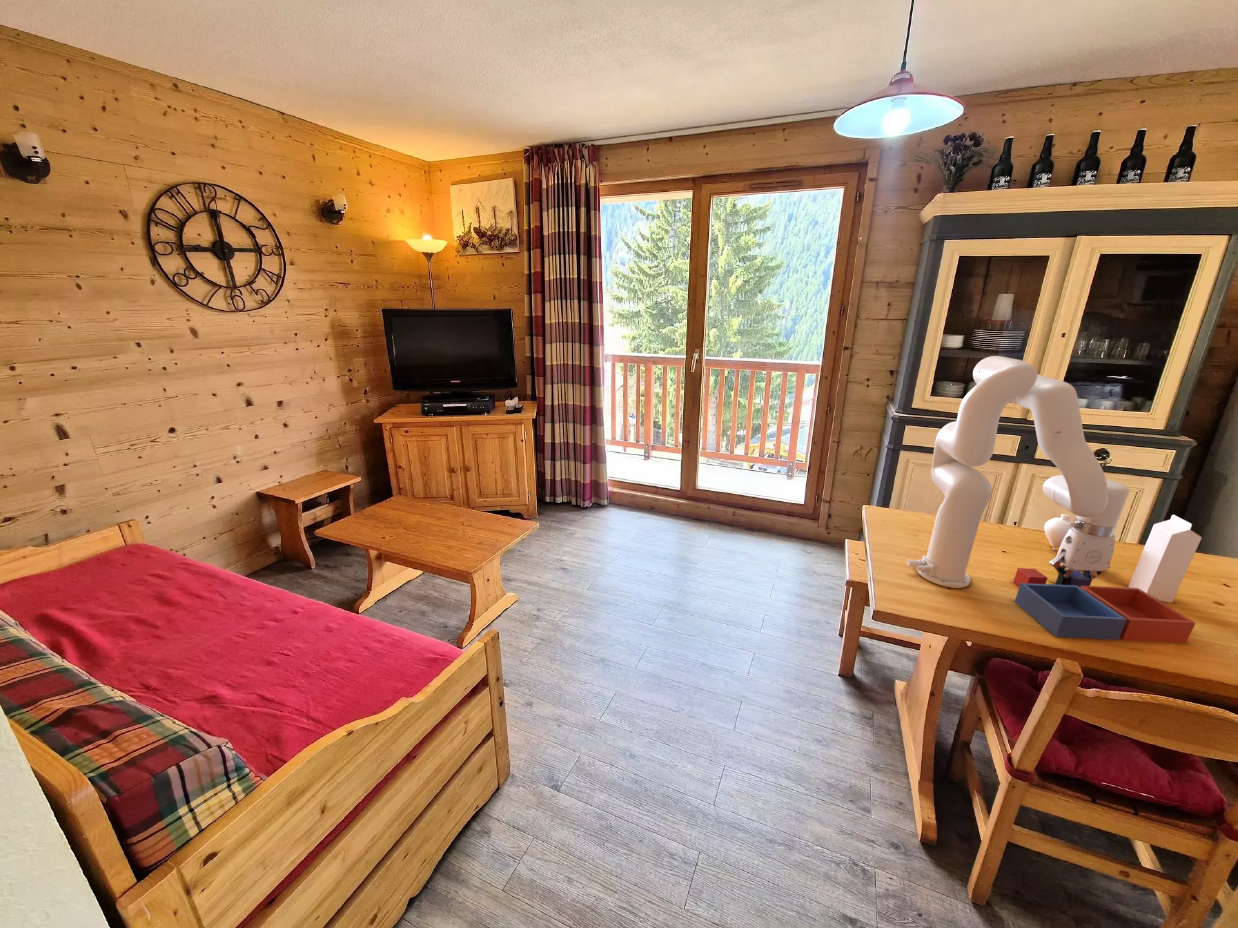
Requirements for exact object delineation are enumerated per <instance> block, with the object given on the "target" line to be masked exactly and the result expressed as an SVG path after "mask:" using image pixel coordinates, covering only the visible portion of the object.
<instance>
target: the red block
mask: <svg viewBox="0 0 1238 928" xmlns="http://www.w3.org/2000/svg"><path fill="white" fill-rule="evenodd" d="M1047 582H1048V577H1047V576H1046V575H1044V574H1043V573H1042V572H1040V571H1039V570H1038V569H1036V568H1026V567H1025V568H1024V567H1018V568H1017V569H1016V573H1015V576H1014V579H1013V583H1014V584H1015V585H1016V586H1017V587H1019V586H1020V583H1029V584H1047Z"/></svg>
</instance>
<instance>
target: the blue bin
mask: <svg viewBox="0 0 1238 928" xmlns="http://www.w3.org/2000/svg"><path fill="white" fill-rule="evenodd" d="M1014 603H1015V604H1016V605H1018V606H1019V607H1020V608H1021V609H1022V610H1024V612H1026V613H1027V614H1028V615H1029V616H1030V617H1032V618H1033V619H1034V620H1035V621H1036V622H1037V623H1039V624H1040V625H1041V626H1043V627H1044V629H1046V630H1047V631H1048V632H1050V633H1051V634H1052V635H1053V636H1054V637H1055V638H1071V639H1092V640H1113V641H1114V640H1115V641H1118V640H1119V639H1120V638H1119V637H1120V635H1121V632H1122V630H1123V627H1124V625H1125V623H1126V620H1127V619H1125V618H1124V617H1122V616H1121V615H1119V614H1118V613H1116V612H1115V611H1114V610H1112V609H1111V608H1109V607H1108V606H1106V605H1105V604H1103V603H1102V602H1100V601H1099V600H1097V599H1096V598H1095V597H1093V596H1092V595H1090V594H1089V593H1087V592H1086V591H1084V590H1083V589H1081V588H1080V587H1078V586H1076V585H1055V584H1049V583H1048V584H1047V583H1046V584H1029V583H1020V586H1018V590H1017V593H1016V596H1015V599H1014Z"/></svg>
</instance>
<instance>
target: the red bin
mask: <svg viewBox="0 0 1238 928" xmlns="http://www.w3.org/2000/svg"><path fill="white" fill-rule="evenodd" d="M1080 588H1081V589H1083V590H1084V591H1086V592H1087V593H1089V594H1090V595H1092V596H1093V597H1095V598H1096V599H1097V600H1099V601H1100V602H1102V603H1103V604H1105V605H1106V606H1108V607H1109V608H1111V609H1112V610H1114V611H1115V612H1116V613H1118V614H1119V615H1121V616H1122V617H1124V618H1125V619H1127V620H1126V623H1125V625H1124V627H1123V630H1122V632H1121V635H1120V637H1119V639H1120V640H1121V641H1130V642H1132V641H1133V642H1154V643H1172V644H1173V643H1175V644H1187V642H1188V640H1189V639H1190V636H1191V634H1192V632H1193V629H1194V627H1195V625H1196V621H1194V620H1192V619H1191V618H1189V617H1187V616H1186V615H1184V614H1182V613H1181V612H1179V611H1177V610H1175V609H1174V608H1172V607H1170V606H1169V605H1168V604H1165V603H1164V602H1163V601H1159V600H1157V599H1156V598H1154V597H1152V596H1151V595H1149V594H1147V593H1146V592H1144V591H1142V590H1141V589H1139V588H1129V587H1124V586H1123V587H1122V586H1121V587H1119V586H1098V585H1097V586H1096V585H1090V586H1081V587H1080Z"/></svg>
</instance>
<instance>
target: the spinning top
mask: <svg viewBox="0 0 1238 928" xmlns="http://www.w3.org/2000/svg"><path fill="white" fill-rule="evenodd" d="M1070 517H1071V516H1070V515H1069V514H1066V513H1062V514H1061V515H1060V517H1053V518H1051V519H1049V520H1047V521H1046V522H1045V524H1044V526H1043V530H1044V533H1045V536H1046V538H1047V540H1048V542H1049V543H1050V545H1051V546H1052V547H1053V549H1052V550H1053V551H1055V550H1056V549H1058V548H1060V545H1061V543H1062V541H1063V539H1064V537H1065V536H1066V534H1067V532H1068V531H1069V529H1070V528H1072V527H1071V523H1072V522H1073V520H1070Z"/></svg>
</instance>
